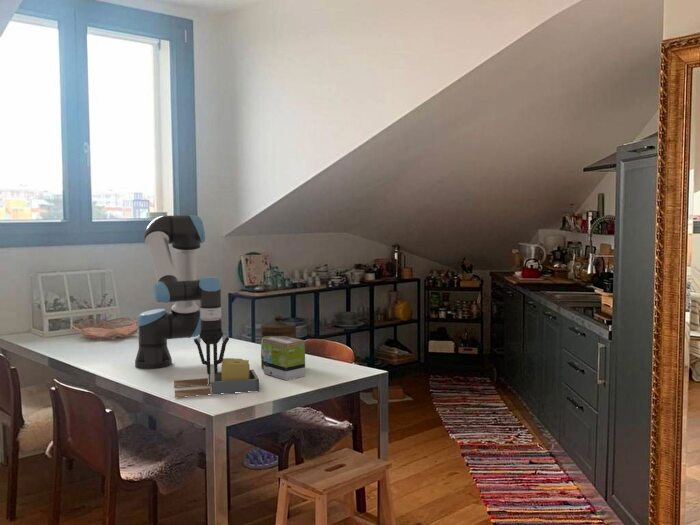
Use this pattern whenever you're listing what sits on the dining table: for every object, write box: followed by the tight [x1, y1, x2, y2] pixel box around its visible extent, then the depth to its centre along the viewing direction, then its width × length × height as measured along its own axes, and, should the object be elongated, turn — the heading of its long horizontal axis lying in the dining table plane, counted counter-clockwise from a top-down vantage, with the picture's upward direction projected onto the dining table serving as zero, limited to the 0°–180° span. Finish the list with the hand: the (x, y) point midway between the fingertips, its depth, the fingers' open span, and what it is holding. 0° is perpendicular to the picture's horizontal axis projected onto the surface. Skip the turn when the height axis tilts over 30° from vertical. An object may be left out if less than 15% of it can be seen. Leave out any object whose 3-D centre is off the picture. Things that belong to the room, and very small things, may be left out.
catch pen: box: [207, 369, 260, 395], centre depth 262 cm, size 16×17×4 cm
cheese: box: [220, 357, 251, 381], centre depth 262 cm, size 10×11×10 cm
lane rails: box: [173, 377, 212, 398], centre depth 258 cm, size 16×12×2 cm
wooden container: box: [260, 314, 297, 370], centre depth 293 cm, size 15×15×22 cm
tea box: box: [263, 336, 306, 381], centre depth 280 cm, size 15×10×15 cm, turn 44°
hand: (212, 382), depth 260 cm, fingers closed
